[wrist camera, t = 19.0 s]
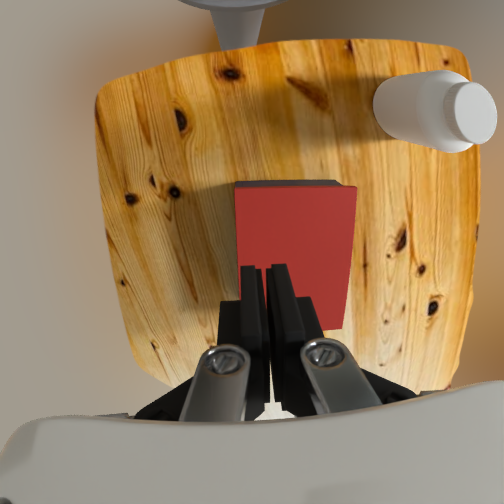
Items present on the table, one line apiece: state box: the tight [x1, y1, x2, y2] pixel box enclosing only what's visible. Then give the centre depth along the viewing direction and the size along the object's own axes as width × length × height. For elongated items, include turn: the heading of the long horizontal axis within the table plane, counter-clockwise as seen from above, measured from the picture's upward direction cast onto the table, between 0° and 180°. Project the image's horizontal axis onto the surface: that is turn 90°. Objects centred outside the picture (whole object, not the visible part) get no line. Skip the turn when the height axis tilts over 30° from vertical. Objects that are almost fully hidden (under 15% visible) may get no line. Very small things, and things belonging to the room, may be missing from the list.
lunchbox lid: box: [234, 186, 357, 331], centre depth 33 cm, size 16×12×1 cm
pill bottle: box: [373, 70, 497, 153], centre depth 26 cm, size 8×8×15 cm
